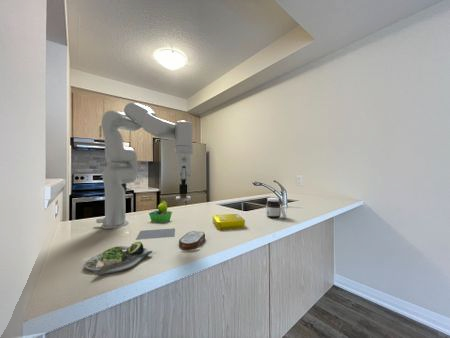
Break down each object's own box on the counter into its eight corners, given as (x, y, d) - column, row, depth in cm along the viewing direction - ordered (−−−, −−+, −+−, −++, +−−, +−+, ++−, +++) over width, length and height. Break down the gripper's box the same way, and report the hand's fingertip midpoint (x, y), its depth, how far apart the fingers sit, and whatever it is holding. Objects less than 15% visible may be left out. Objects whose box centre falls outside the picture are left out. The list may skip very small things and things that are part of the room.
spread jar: (264, 215, 128) (264, 197, 128) (281, 214, 129) (281, 197, 129) (271, 220, 116) (271, 200, 116) (289, 219, 117) (289, 200, 117)
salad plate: (120, 283, 54) (120, 266, 54) (65, 276, 57) (65, 261, 57) (157, 253, 73) (157, 240, 73) (114, 249, 76) (114, 237, 76)
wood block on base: (175, 201, 82) (175, 179, 82) (176, 199, 87) (176, 178, 87) (190, 200, 83) (190, 178, 83) (190, 198, 88) (190, 178, 88)
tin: (174, 249, 75) (195, 252, 73) (175, 240, 75) (196, 244, 73) (189, 235, 90) (207, 238, 88) (190, 228, 90) (208, 231, 88)
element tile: (246, 228, 102) (245, 219, 102) (217, 230, 98) (217, 221, 98) (237, 220, 116) (237, 212, 116) (212, 222, 113) (212, 214, 113)
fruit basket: (147, 222, 112) (147, 202, 112) (157, 218, 120) (157, 199, 120) (165, 224, 109) (165, 203, 108) (174, 219, 117) (174, 200, 117)
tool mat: (135, 241, 83) (135, 239, 83) (140, 231, 95) (140, 230, 95) (174, 237, 87) (174, 236, 87) (175, 229, 99) (175, 228, 99)
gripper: (194, 149, 78) (193, 196, 78) (191, 152, 93) (190, 190, 94) (174, 148, 76) (173, 196, 76) (175, 151, 92) (174, 191, 92)
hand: (183, 193), depth 85 cm, fingers closed on wood block on base, 2 cm apart
